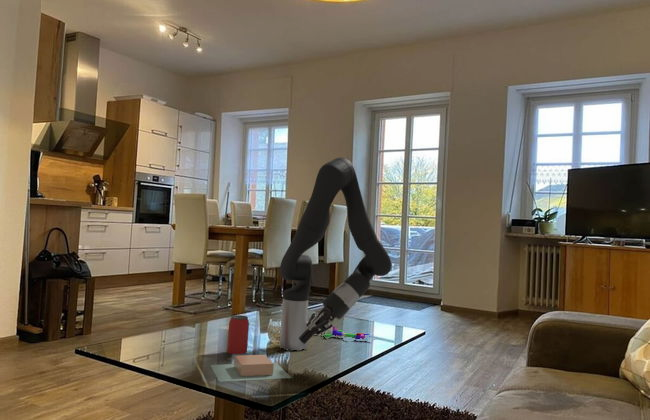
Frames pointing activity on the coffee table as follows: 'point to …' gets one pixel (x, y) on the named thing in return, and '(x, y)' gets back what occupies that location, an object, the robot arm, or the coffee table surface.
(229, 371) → the felt mat
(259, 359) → the tile
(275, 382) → the coffee table surface
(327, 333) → the building block set
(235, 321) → the beer can
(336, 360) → the coffee table surface
